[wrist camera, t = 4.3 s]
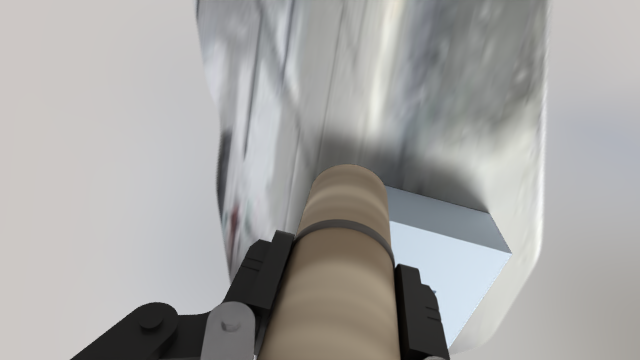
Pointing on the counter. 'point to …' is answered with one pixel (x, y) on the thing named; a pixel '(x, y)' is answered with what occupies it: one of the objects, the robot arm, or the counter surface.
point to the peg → (338, 276)
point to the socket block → (447, 252)
